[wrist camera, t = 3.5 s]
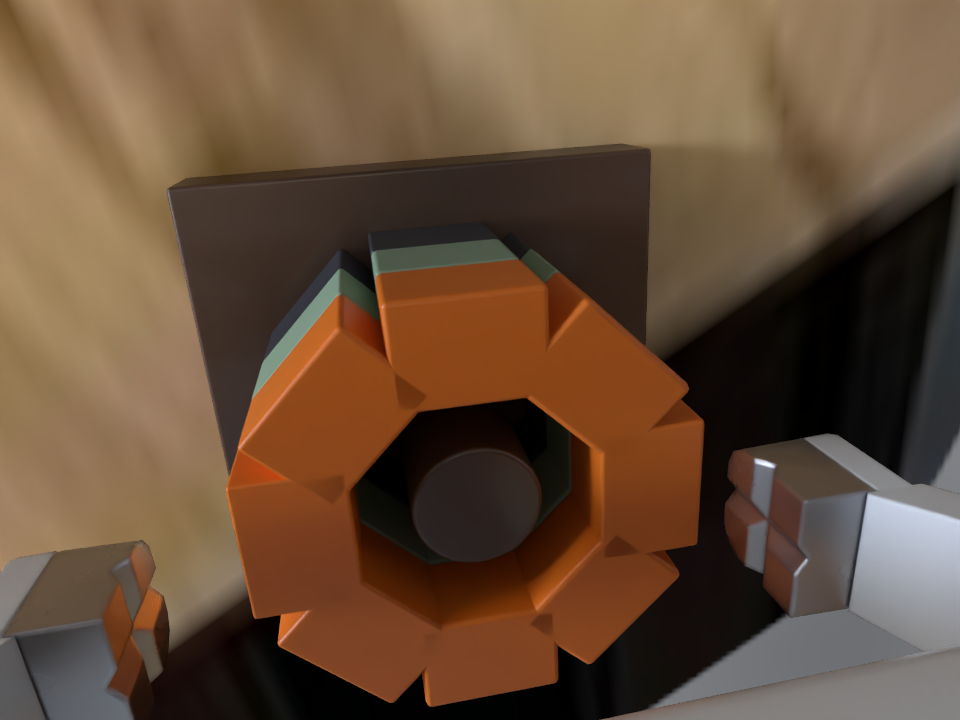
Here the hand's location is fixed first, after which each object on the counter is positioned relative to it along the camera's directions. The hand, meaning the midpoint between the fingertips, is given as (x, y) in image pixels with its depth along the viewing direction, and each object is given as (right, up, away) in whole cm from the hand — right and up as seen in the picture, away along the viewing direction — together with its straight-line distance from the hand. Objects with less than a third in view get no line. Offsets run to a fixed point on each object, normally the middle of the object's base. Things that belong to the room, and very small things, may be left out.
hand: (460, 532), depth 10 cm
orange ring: (0, +1, +2) cm, 2 cm away
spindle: (-1, +2, +6) cm, 7 cm away
